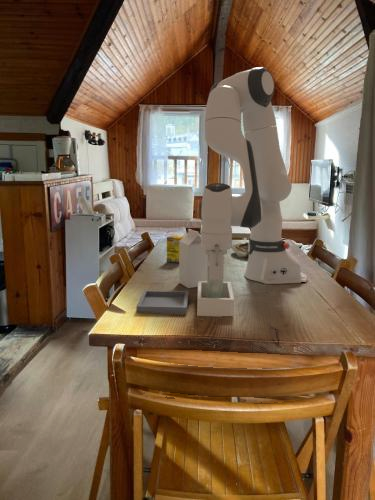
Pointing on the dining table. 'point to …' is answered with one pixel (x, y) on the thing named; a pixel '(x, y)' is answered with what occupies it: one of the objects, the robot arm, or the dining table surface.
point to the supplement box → (173, 248)
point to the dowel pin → (209, 291)
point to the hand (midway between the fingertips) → (214, 287)
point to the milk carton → (192, 260)
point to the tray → (163, 302)
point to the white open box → (215, 301)
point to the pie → (241, 250)
